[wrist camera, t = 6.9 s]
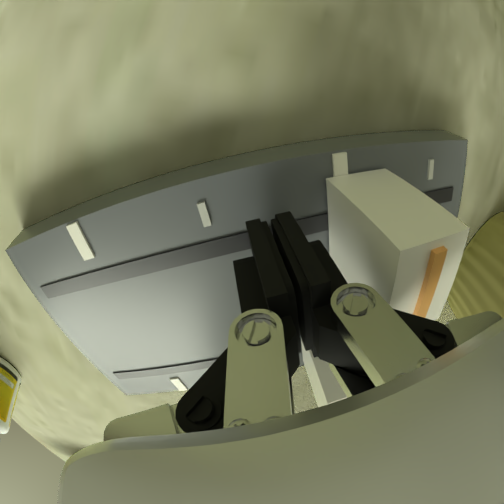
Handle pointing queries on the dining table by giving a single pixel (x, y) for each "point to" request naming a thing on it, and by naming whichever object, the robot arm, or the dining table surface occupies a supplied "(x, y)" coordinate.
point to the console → (199, 247)
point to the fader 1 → (322, 379)
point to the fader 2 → (394, 240)
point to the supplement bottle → (7, 393)
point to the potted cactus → (481, 272)
